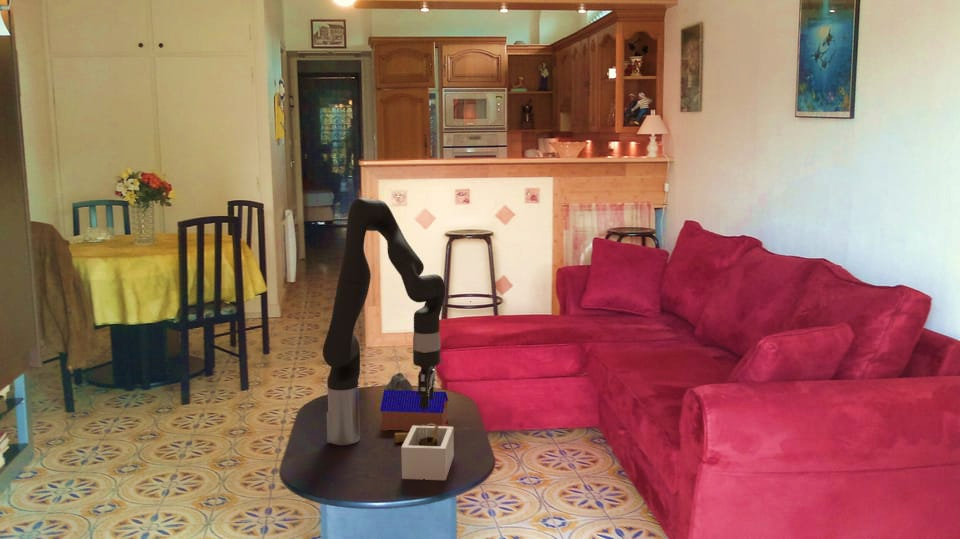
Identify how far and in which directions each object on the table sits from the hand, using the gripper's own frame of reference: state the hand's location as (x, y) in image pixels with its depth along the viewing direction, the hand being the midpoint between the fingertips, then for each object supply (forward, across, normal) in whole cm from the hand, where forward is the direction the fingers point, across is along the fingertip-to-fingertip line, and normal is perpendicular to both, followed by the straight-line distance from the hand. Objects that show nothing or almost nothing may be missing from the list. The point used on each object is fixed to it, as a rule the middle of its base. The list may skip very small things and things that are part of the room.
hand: (427, 403), depth 232 cm
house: (+19, -34, -10) cm, 40 cm away
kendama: (+19, -18, -4) cm, 27 cm away
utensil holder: (+18, 0, 0) cm, 18 cm away
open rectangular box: (+19, 0, 0) cm, 19 cm away
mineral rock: (+19, -59, -20) cm, 65 cm away
